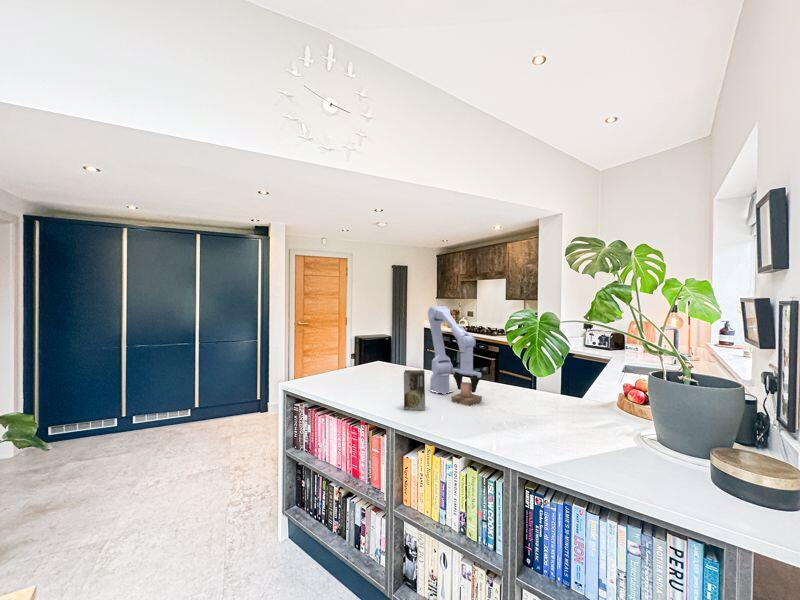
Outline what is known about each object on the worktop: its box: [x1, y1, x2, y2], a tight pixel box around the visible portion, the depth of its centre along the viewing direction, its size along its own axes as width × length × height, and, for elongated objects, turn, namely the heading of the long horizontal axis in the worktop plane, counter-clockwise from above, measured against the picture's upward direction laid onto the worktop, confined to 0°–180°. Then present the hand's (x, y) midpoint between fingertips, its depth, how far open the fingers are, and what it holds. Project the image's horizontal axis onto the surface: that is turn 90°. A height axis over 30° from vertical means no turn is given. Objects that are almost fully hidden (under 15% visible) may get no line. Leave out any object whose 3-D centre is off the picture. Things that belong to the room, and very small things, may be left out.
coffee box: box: [403, 369, 426, 411], centre depth 155 cm, size 9×6×16 cm
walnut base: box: [451, 392, 483, 407], centre depth 164 cm, size 10×10×2 cm
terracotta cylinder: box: [460, 381, 473, 398], centre depth 164 cm, size 5×5×6 cm
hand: (466, 390), depth 164 cm, fingers open, 7 cm apart
